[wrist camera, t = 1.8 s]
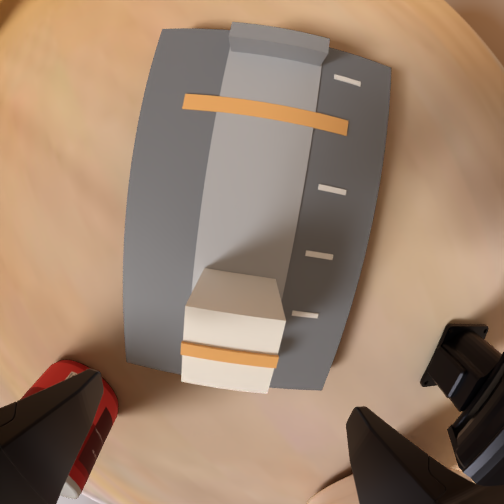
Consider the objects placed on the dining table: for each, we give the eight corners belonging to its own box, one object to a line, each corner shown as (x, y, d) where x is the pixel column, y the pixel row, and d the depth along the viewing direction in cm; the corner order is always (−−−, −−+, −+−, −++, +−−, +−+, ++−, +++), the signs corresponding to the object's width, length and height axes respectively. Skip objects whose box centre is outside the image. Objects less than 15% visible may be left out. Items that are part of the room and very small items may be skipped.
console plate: (378, 77, 15) (406, 57, 11) (316, 374, 20) (327, 408, 16) (170, 42, 14) (153, 14, 10) (135, 347, 19) (116, 378, 16)
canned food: (40, 354, 20) (-23, 421, 9) (102, 359, 20) (38, 452, 9) (71, 411, 22) (29, 481, 11) (132, 421, 22) (96, 509, 11)
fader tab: (276, 278, 16) (287, 322, 11) (263, 339, 17) (268, 396, 12) (203, 267, 16) (183, 307, 11) (197, 329, 17) (179, 383, 12)
